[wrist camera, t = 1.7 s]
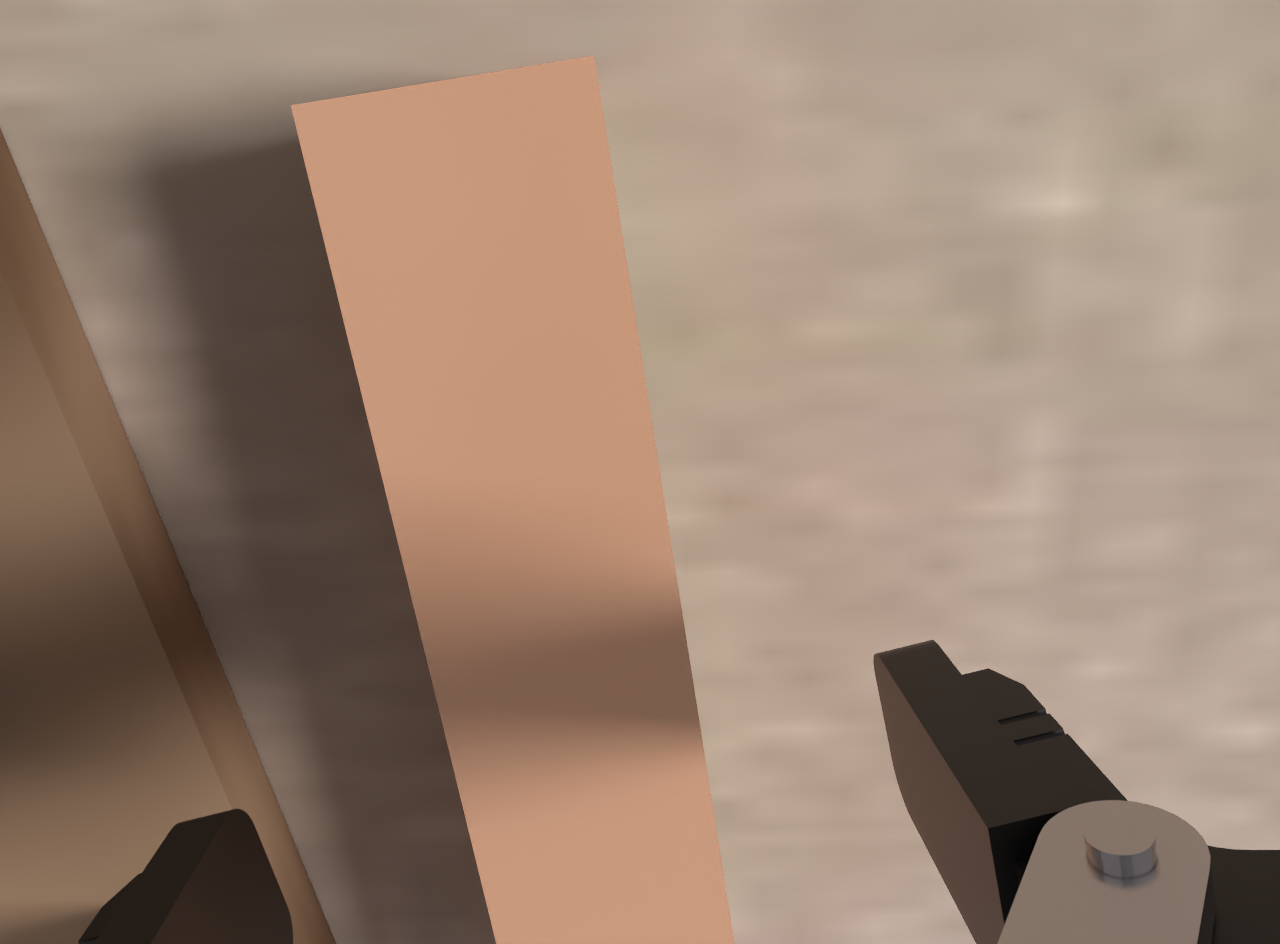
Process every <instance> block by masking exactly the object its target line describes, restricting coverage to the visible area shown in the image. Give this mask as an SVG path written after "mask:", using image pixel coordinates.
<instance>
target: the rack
mask: <svg viewBox="0 0 1280 944" xmlns="http://www.w3.org/2000/svg"><path fill="white" fill-rule="evenodd" d="M233 809H241V810H243V811H245V812H246V813H247V814H248V815H249V816H250V818H251V819H252V821H253V823H254V825H255V828H256V830H257V833H258V835H259V837H260V840H261V842H262V845H263V847H264V850H265V852H266V855H267V857H268V859H269V862H270V864H271V867H272V869H273V872H274V874H275V877H276V879H277V882H278V884H279V886H280V889H281V891H282V894H283V896H284V899H285V901H286V904H287V906H288V909H289V912H290V916H291V920H292V927H293V944H336V943H335V940H334V938H333V935H332V933H331V931H330V928H329V926H328V923H327V921H326V918H325V916H324V914H323V911H322V909H321V906H320V904H319V901H318V899H317V897H316V894H315V892H314V889H313V887H312V884H311V882H310V880H309V877H308V875H307V872H306V870H305V867H304V865H303V863H302V860H301V858H300V855H299V853H298V850H297V848H296V846H295V843H294V841H293V838H292V836H291V833H290V831H289V829H288V826H287V824H286V821H285V819H284V816H283V814H282V812H281V809H280V807H279V804H278V802H277V799H276V797H275V795H274V792H273V790H272V787H271V785H270V782H269V780H268V778H267V775H266V773H265V770H264V768H263V765H262V763H261V761H260V758H259V756H258V753H257V751H256V748H255V746H254V744H253V741H252V739H251V736H250V734H249V731H248V729H247V727H246V724H245V722H244V719H243V717H242V714H241V712H240V710H239V707H238V705H237V702H236V700H235V697H234V695H233V693H232V690H231V688H230V685H229V683H228V680H227V678H226V676H225V673H224V671H223V668H222V666H221V663H220V661H219V659H218V656H217V654H216V651H215V649H214V646H213V644H212V641H211V639H210V637H209V634H208V632H207V629H206V627H205V624H204V622H203V620H202V617H201V615H200V612H199V610H198V607H197V605H196V603H195V600H194V598H193V595H192V593H191V590H190V588H189V586H188V583H187V581H186V578H185V576H184V573H183V571H182V569H181V566H180V564H179V561H178V559H177V556H176V554H175V552H174V549H173V547H172V544H171V542H170V539H169V537H168V535H167V532H166V530H165V527H164V525H163V522H162V520H161V518H160V515H159V513H158V510H157V508H156V505H155V503H154V501H153V498H152V496H151V493H150V491H149V488H148V486H147V484H146V481H145V479H144V476H143V474H142V471H141V469H140V467H139V464H138V462H137V459H136V457H135V454H134V452H133V450H132V447H131V445H130V442H129V440H128V437H127V435H126V433H125V430H124V428H123V425H122V423H121V420H120V418H119V416H118V413H117V411H116V408H115V406H114V403H113V401H112V399H111V396H110V394H109V391H108V389H107V386H106V384H105V382H104V379H103V377H102V374H101V372H100V369H99V367H98V365H97V362H96V360H95V357H94V355H93V352H92V350H91V348H90V345H89V343H88V340H87V338H86V335H85V333H84V331H83V328H82V326H81V323H80V321H79V318H78V316H77V314H76V311H75V309H74V306H73V304H72V301H71V299H70V296H69V294H68V292H67V289H66V287H65V284H64V282H63V279H62V277H61V275H60V272H59V270H58V267H57V265H56V262H55V260H54V258H53V255H52V253H51V250H50V248H49V245H48V243H47V241H46V238H45V236H44V233H43V231H42V228H41V226H40V224H39V221H38V219H37V216H36V214H35V211H34V209H33V207H32V204H31V202H30V199H29V197H28V194H27V192H26V190H25V187H24V185H23V182H22V180H21V177H20V175H19V173H18V170H17V168H16V165H15V163H14V160H13V158H12V156H11V153H10V151H9V148H8V146H7V143H6V141H5V139H4V136H3V134H2V131H1V129H0V944H79V943H78V941H79V939H80V938H81V936H82V935H83V933H84V932H85V931H86V929H87V928H88V926H89V925H90V923H91V922H92V920H93V919H94V918H95V916H96V915H97V913H98V912H99V910H100V909H101V908H102V907H103V906H104V905H105V904H106V903H107V902H108V901H109V900H110V899H111V898H112V897H114V896H115V895H116V894H117V893H118V892H119V891H120V890H121V889H122V888H123V887H125V886H126V885H127V884H128V883H129V882H130V881H131V880H132V879H133V878H135V877H136V876H137V875H138V874H140V873H142V872H143V870H144V869H145V867H146V866H147V864H148V863H149V861H150V860H151V858H152V857H153V855H154V854H155V852H156V851H157V850H158V848H159V847H160V845H161V844H162V842H163V841H164V839H165V838H166V836H167V835H168V833H169V832H170V830H171V829H172V828H173V826H175V825H176V824H177V823H180V822H183V821H188V820H192V819H196V818H200V817H204V816H208V815H212V814H216V813H220V812H224V811H228V810H233Z"/></svg>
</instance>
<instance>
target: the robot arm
mask: <svg viewBox="0 0 1280 944" xmlns="http://www.w3.org/2000/svg"><path fill="white" fill-rule="evenodd" d="M874 669H875V675H876V680H877V686H878V691H879V696H880V701H881V706H882V711H883V716H884V721H885V726H886V731H887V736H888V741H889V746H890V751H891V756H892V761H893V766H894V770H895V774H896V778H897V781H898V785H899V788H900V791H901V794H902V797H903V800H904V802H905V805H906V808H907V810H908V812H909V814H910V817H911V819H912V821H913V822H914V824H915V826H916V828H917V830H918V832H919V834H920V836H921V838H922V840H923V842H924V844H925V846H926V847H927V849H928V851H929V853H930V855H931V857H932V859H933V861H934V863H935V865H936V867H937V869H938V871H939V873H940V874H941V876H942V878H943V880H944V882H945V884H946V886H947V888H948V890H949V892H950V894H951V896H952V898H953V899H954V901H955V903H956V905H957V907H958V909H959V911H960V913H961V915H962V917H963V919H964V921H965V923H966V925H967V926H968V928H969V930H970V932H971V934H972V936H973V938H974V940H975V942H976V944H1280V850H1233V849H1225V848H1217V847H1212V846H1207V844H1206V842H1205V841H1204V839H1203V837H1202V836H1201V835H1200V834H1199V833H1198V832H1197V830H1196V829H1195V828H1193V827H1192V826H1191V825H1190V824H1188V823H1187V822H1186V821H1185V820H1183V819H1181V818H1179V817H1178V816H1176V815H1174V814H1172V813H1170V812H1168V811H1165V810H1163V809H1161V808H1157V807H1154V806H1151V805H1148V804H1143V803H1138V802H1132V801H1127V799H1126V798H1125V797H1124V796H1123V795H1122V794H1121V793H1120V792H1119V791H1118V789H1117V788H1116V787H1115V786H1114V785H1113V784H1112V783H1111V782H1110V780H1109V779H1108V778H1107V777H1106V776H1105V775H1104V774H1103V773H1102V772H1101V770H1100V769H1099V768H1098V767H1097V766H1096V765H1095V764H1094V763H1093V762H1092V760H1091V759H1090V758H1089V757H1088V756H1087V755H1086V754H1085V753H1084V751H1083V750H1082V749H1081V748H1080V747H1079V746H1078V745H1077V744H1076V743H1075V741H1074V740H1073V739H1072V738H1071V737H1070V736H1069V735H1068V734H1065V733H1064V731H1063V728H1062V727H1061V726H1060V725H1059V724H1058V722H1057V721H1056V720H1055V719H1054V718H1053V717H1052V716H1051V715H1050V714H1047V713H1046V710H1045V708H1044V707H1043V706H1042V705H1041V703H1040V702H1039V701H1038V700H1037V699H1036V698H1035V697H1034V696H1033V695H1032V693H1031V692H1030V691H1029V690H1028V689H1027V688H1026V687H1025V686H1024V685H1023V684H1021V683H1019V682H1017V681H1014V680H1012V679H1010V678H1008V677H1006V676H1004V675H1001V674H999V673H997V672H995V671H993V670H991V669H984V670H980V671H976V672H972V673H968V674H964V675H961V673H960V672H959V671H958V670H957V668H956V667H955V666H954V664H953V663H952V662H951V661H950V659H949V658H948V657H947V655H946V654H945V653H944V652H943V650H942V649H941V648H940V647H939V645H938V644H937V643H936V642H935V641H934V640H930V641H926V642H922V643H918V644H914V645H910V646H906V647H902V648H897V649H893V650H889V651H885V652H881V653H877V654H875V655H874ZM78 943H79V944H293V927H292V920H291V916H290V912H289V909H288V906H287V904H286V901H285V899H284V896H283V894H282V891H281V889H280V886H279V884H278V882H277V879H276V877H275V874H274V872H273V869H272V867H271V864H270V862H269V859H268V857H267V855H266V852H265V850H264V847H263V845H262V842H261V840H260V837H259V835H258V833H257V830H256V828H255V825H254V823H253V821H252V819H251V818H250V816H249V815H248V814H247V813H246V812H245V811H243V810H241V809H233V810H228V811H224V812H220V813H216V814H212V815H208V816H204V817H200V818H196V819H192V820H188V821H183V822H180V823H177V824H176V825H175V826H173V828H172V829H171V830H170V832H169V833H168V835H167V836H166V838H165V839H164V841H163V842H162V844H161V845H160V847H159V848H158V850H157V851H156V852H155V854H154V855H153V857H152V858H151V860H150V861H149V863H148V864H147V866H146V867H145V869H144V870H143V872H142V873H140V874H138V875H137V876H136V877H135V878H133V879H132V880H131V881H130V882H129V883H128V884H127V885H126V886H125V887H123V888H122V889H121V890H120V891H119V892H118V893H117V894H116V895H115V896H114V897H112V898H111V899H110V900H109V901H108V902H107V903H106V904H105V905H104V906H103V907H102V908H101V909H100V910H99V912H98V913H97V915H96V916H95V918H94V919H93V920H92V922H91V923H90V925H89V926H88V928H87V929H86V931H85V932H84V933H83V935H82V936H81V938H80V939H79V941H78Z"/></svg>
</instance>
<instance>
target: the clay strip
mask: <svg viewBox="0 0 1280 944" xmlns="http://www.w3.org/2000/svg"><path fill="white" fill-rule="evenodd" d="M291 109H292V113H293V117H294V121H295V125H296V129H297V133H298V138H299V142H300V146H301V150H302V154H303V158H304V162H305V166H306V170H307V174H308V178H309V182H310V186H311V191H312V195H313V199H314V203H315V207H316V211H317V215H318V219H319V223H320V227H321V231H322V235H323V239H324V244H325V248H326V252H327V256H328V260H329V264H330V268H331V272H332V276H333V280H334V284H335V288H336V292H337V297H338V301H339V305H340V309H341V313H342V317H343V321H344V325H345V329H346V333H347V337H348V341H349V345H350V350H351V354H352V358H353V362H354V366H355V370H356V374H357V378H358V382H359V386H360V390H361V394H362V399H363V403H364V407H365V411H366V415H367V419H368V423H369V427H370V431H371V435H372V439H373V443H374V447H375V452H376V456H377V460H378V464H379V468H380V472H381V476H382V480H383V484H384V488H385V492H386V496H387V500H388V505H389V509H390V513H391V517H392V521H393V525H394V529H395V533H396V537H397V541H398V545H399V549H400V553H401V558H402V562H403V566H404V570H405V574H406V578H407V582H408V586H409V590H410V594H411V598H412V602H413V606H414V611H415V615H416V619H417V623H418V627H419V631H420V635H421V639H422V643H423V647H424V651H425V655H426V659H427V664H428V668H429V672H430V676H431V680H432V684H433V688H434V692H435V696H436V700H437V704H438V708H439V712H440V717H441V721H442V725H443V729H444V733H445V737H446V741H447V745H448V749H449V753H450V757H451V761H452V765H453V770H454V774H455V778H456V782H457V786H458V790H459V794H460V798H461V802H462V806H463V810H464V814H465V818H466V823H467V827H468V831H469V835H470V839H471V843H472V847H473V851H474V855H475V859H476V863H477V867H478V871H479V876H480V880H481V884H482V888H483V892H484V896H485V900H486V904H487V908H488V912H489V916H490V920H491V924H492V929H493V933H494V937H495V941H496V944H734V938H733V932H732V926H731V919H730V913H729V907H728V900H727V894H726V888H725V881H724V875H723V869H722V862H721V856H720V850H719V843H718V837H717V831H716V824H715V818H714V812H713V805H712V799H711V793H710V786H709V780H708V774H707V767H706V761H705V755H704V748H703V742H702V736H701V729H700V723H699V717H698V711H697V704H696V698H695V692H694V685H693V679H692V673H691V666H690V660H689V654H688V647H687V641H686V635H685V628H684V622H683V616H682V609H681V603H680V597H679V590H678V584H677V578H676V571H675V565H674V559H673V552H672V546H671V540H670V533H669V527H668V521H667V514H666V508H665V502H664V496H663V489H662V483H661V477H660V470H659V464H658V458H657V451H656V445H655V439H654V432H653V426H652V420H651V413H650V407H649V401H648V394H647V388H646V382H645V375H644V369H643V363H642V356H641V350H640V344H639V337H638V331H637V325H636V318H635V312H634V306H633V299H632V293H631V287H630V281H629V274H628V268H627V262H626V255H625V249H624V243H623V236H622V230H621V224H620V217H619V211H618V205H617V198H616V192H615V186H614V179H613V173H612V167H611V160H610V154H609V148H608V141H607V135H606V129H605V122H604V116H603V110H602V103H601V97H600V91H599V84H598V78H597V72H596V66H595V59H594V56H588V57H582V58H576V59H570V60H564V61H558V62H552V63H546V64H539V65H533V66H527V67H521V68H515V69H509V70H503V71H497V72H491V73H485V74H478V75H472V76H466V77H460V78H454V79H448V80H442V81H436V82H430V83H423V84H417V85H411V86H405V87H399V88H393V89H387V90H381V91H375V92H369V93H362V94H356V95H350V96H344V97H338V98H332V99H326V100H320V101H314V102H308V103H301V104H295V105H291Z"/></svg>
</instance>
